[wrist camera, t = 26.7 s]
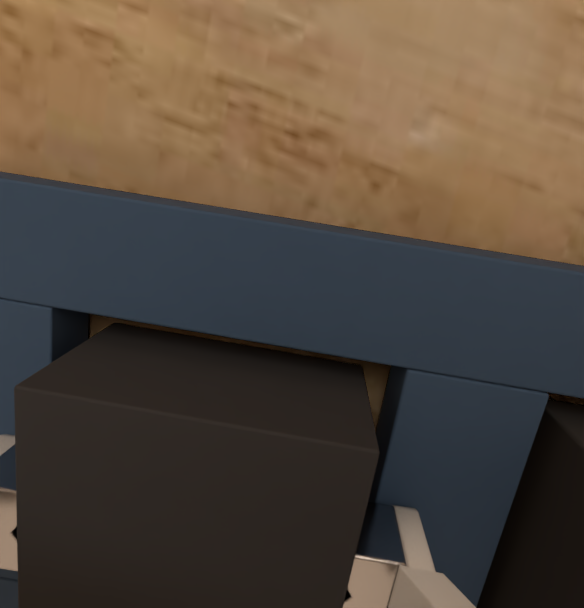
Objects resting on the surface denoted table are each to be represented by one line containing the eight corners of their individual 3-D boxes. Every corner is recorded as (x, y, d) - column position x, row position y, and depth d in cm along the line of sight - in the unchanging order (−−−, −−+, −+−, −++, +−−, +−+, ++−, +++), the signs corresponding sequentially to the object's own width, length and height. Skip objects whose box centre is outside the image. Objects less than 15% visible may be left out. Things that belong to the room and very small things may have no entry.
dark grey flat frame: (1024, 336, 9) (1160, 366, 7) (765, 739, 12) (824, 815, 11) (-12, 169, 10) (-72, 165, 8) (2, 590, 13) (-40, 641, 11)
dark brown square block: (362, 364, 10) (381, 451, 7) (319, 567, 12) (317, 719, 8) (114, 321, 10) (12, 385, 7) (104, 526, 12) (17, 659, 9)
